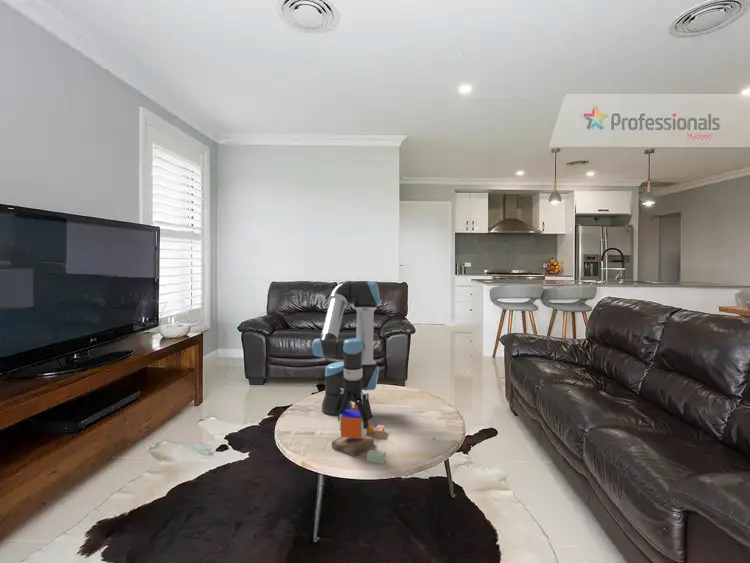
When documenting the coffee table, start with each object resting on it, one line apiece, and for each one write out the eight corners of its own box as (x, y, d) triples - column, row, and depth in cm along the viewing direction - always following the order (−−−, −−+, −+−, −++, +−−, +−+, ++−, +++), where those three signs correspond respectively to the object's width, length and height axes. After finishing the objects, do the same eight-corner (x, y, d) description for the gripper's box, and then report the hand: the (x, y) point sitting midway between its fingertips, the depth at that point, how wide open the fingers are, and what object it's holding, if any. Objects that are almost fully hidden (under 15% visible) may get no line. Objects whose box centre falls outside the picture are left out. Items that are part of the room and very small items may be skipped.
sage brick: (366, 461, 145) (366, 453, 145) (369, 457, 148) (369, 450, 148) (382, 464, 143) (382, 456, 143) (384, 460, 146) (384, 452, 146)
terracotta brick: (381, 438, 164) (381, 431, 164) (374, 437, 165) (374, 430, 165) (384, 432, 170) (384, 425, 170) (377, 431, 171) (377, 424, 171)
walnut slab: (331, 447, 155) (331, 441, 155) (350, 436, 165) (350, 430, 165) (355, 456, 149) (355, 449, 148) (373, 444, 158) (373, 437, 158)
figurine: (354, 424, 178) (354, 398, 177) (376, 428, 174) (376, 401, 173) (346, 431, 170) (346, 405, 169) (368, 436, 166) (368, 408, 165)
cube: (364, 429, 160) (364, 410, 159) (360, 438, 152) (360, 418, 151) (345, 428, 161) (345, 409, 161) (340, 436, 153) (340, 416, 153)
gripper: (325, 375, 159) (325, 428, 160) (370, 385, 146) (370, 443, 147) (337, 371, 165) (337, 422, 166) (381, 380, 152) (381, 436, 153)
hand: (352, 432), depth 156 cm, fingers closed on cube, 10 cm apart
